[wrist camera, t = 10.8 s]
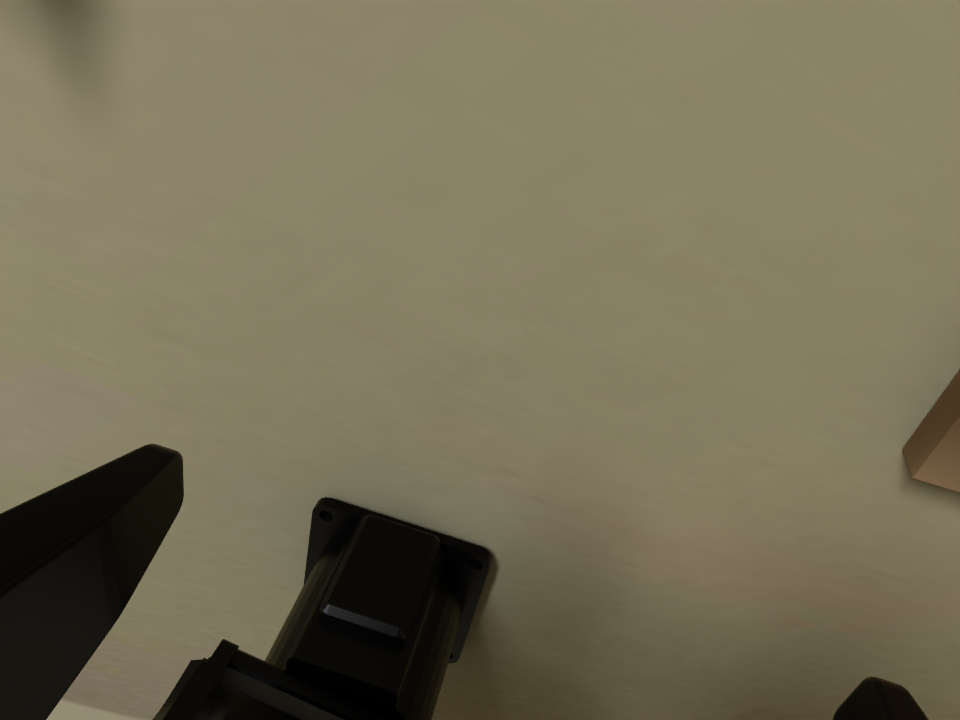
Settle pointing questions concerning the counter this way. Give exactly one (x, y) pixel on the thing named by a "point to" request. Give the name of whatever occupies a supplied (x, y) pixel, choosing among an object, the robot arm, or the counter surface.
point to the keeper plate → (938, 442)
